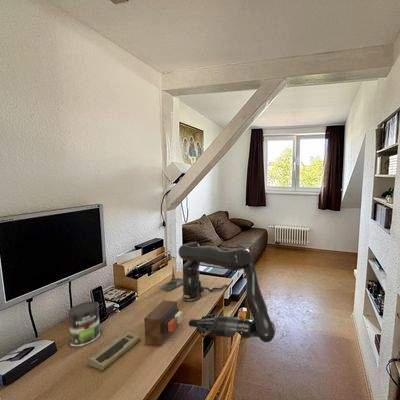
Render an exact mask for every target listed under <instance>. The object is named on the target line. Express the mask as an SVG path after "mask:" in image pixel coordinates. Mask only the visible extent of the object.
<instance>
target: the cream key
mask: <svg viewBox="0 0 400 400" xmlns="http://www.w3.org/2000/svg"><path fill="white" fill-rule="evenodd" d="M183 316H184V315H183V311H181V310H179V311H178V312H177V313H176V315H175V316H174V317H175V319H176V323H178V324H180V323H181V322H182V320H183Z"/></svg>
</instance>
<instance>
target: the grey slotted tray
mask: <svg viewBox="0 0 400 400" xmlns="http://www.w3.org/2000/svg"><path fill="white" fill-rule="evenodd" d="M139 341H140V337H139V336H138V335H137V334H134V333H132V332H130V331H125V332H123V333H122V334H120V335H119V336H118V337H116V338H115V339H113V340H112V341H111V342H109V343H108V344H107V345H105V346H104V347H102V348H101V349H100V350H98V351H97V352H96V353H94V354H93V355H91V356H90V357H88V359H87V365H88V366H89V367H91V368H95V369H98V370H101V371H104V370H105V369H107V368H108V367H110V365H113V363H114V362H116V361H117V360H118V359H119V358H120V357H121V356H122V355H124V354H125V353H127V352H128V351H129V350H130V349H131V348H133V347H135V345H137V343H138V342H139Z"/></svg>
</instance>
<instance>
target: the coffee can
mask: <svg viewBox="0 0 400 400" xmlns="http://www.w3.org/2000/svg"><path fill="white" fill-rule="evenodd" d="M67 315H68V326H69V341H70V342H69V344H70V346H71V347H82V346H86V345H88V344H90V343H92V342H94V341H96V340H97V339H98V338H99V337H100V335H101V329H100V328H101V327H100V325H101V324H100V315H99V303H98V302H91V301H86V302H82V303H79V304H76V305H75V306H72V307H71V308H70V309H69V310H68V311H67Z"/></svg>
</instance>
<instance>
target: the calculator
mask: <svg viewBox="0 0 400 400" xmlns="http://www.w3.org/2000/svg"><path fill="white" fill-rule="evenodd" d="M92 301H93V300H91V301H90V302H92ZM114 305H115V304H114V303H107V304H106V311H107V314H106V316H107V315H109V314H111V313H113V312H116V311H117V310H119V309H120V308H117V309H115V310H113V309H114ZM125 306H126V304H125V305H124V306H122V307H121V308H123V307H125Z"/></svg>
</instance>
